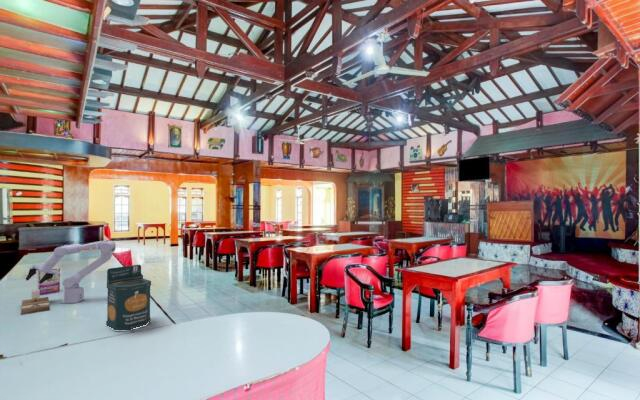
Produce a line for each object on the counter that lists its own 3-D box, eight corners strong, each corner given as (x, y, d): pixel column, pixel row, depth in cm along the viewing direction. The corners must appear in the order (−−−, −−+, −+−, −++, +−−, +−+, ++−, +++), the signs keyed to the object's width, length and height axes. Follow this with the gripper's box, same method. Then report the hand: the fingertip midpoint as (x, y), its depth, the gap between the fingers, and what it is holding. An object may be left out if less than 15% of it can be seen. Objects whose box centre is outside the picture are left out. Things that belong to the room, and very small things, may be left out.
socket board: (49, 310, 189) (49, 305, 189) (21, 314, 181) (21, 310, 181) (48, 300, 207) (48, 296, 207) (22, 304, 199) (22, 300, 199)
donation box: (140, 317, 177) (141, 264, 177) (154, 324, 167) (155, 267, 167) (106, 325, 164) (106, 268, 165) (119, 333, 154) (119, 272, 155)
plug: (39, 301, 198) (39, 290, 198) (31, 302, 196) (31, 291, 196) (39, 299, 201) (39, 289, 201) (31, 300, 199) (31, 290, 199)
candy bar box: (57, 290, 232) (57, 267, 232) (59, 291, 229) (60, 267, 229) (36, 294, 223) (37, 269, 223) (39, 295, 220) (39, 270, 220)
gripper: (60, 263, 211) (43, 280, 209) (36, 255, 200) (18, 274, 197) (63, 269, 208) (46, 287, 205) (39, 262, 196) (21, 281, 193)
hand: (33, 281), depth 201 cm, fingers open, 7 cm apart
